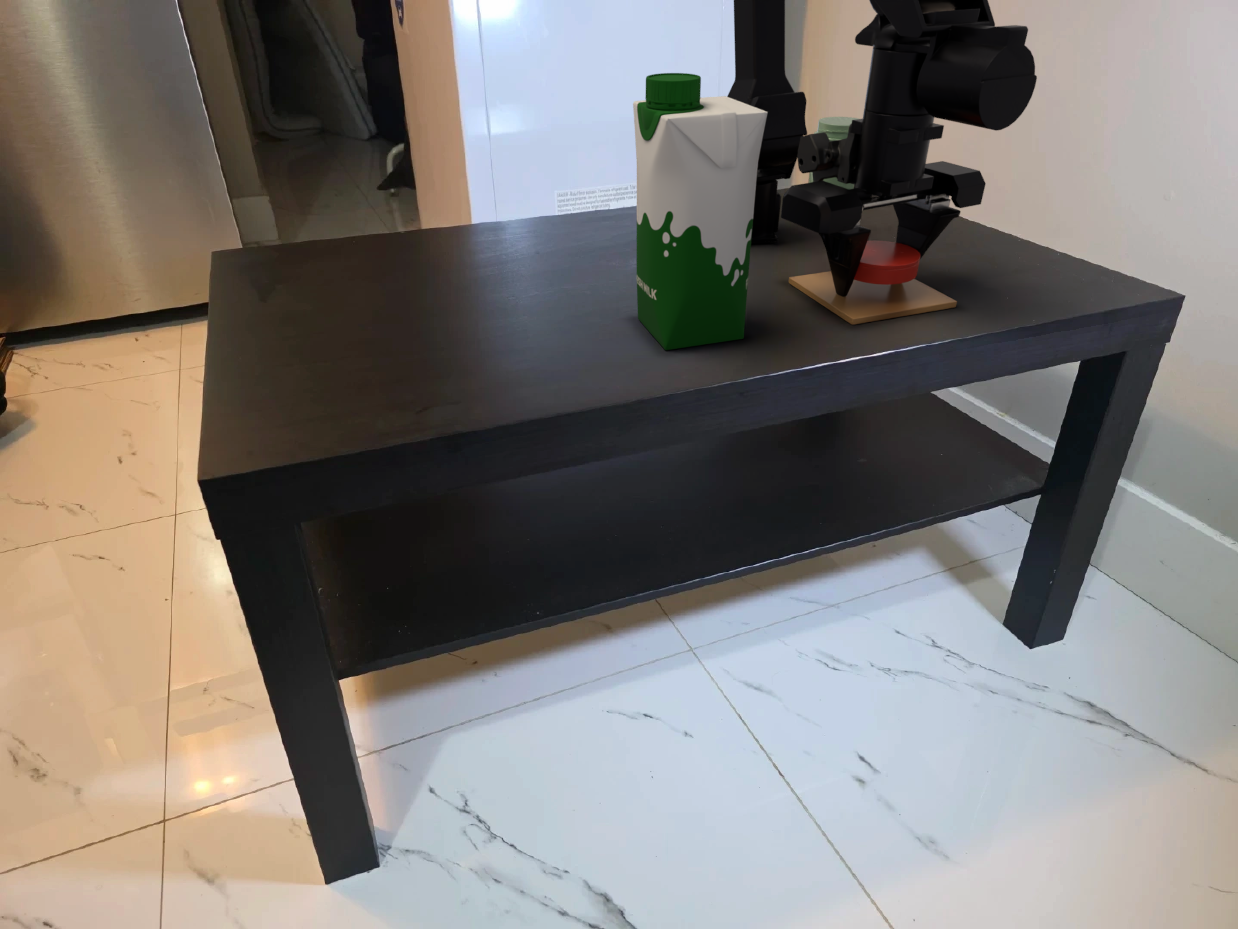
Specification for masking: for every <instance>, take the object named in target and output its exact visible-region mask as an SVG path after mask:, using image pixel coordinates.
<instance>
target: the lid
mask: <svg viewBox="0 0 1238 929" xmlns="http://www.w3.org/2000/svg"><path fill="white" fill-rule="evenodd" d="M920 257H921V255H920V253H919V252H918V251H917V250H916V249H914V248H912V247H910V246H907V245H904V244H900V243H896V241H889V240H868V241H867V244H866V247H865V249H864V252H863V255H862V258H861V261H860V264H859V266H858V269H857V272H856V275H855V278H854V280H857V281H861V282H865V283H871V284H882V285H891V284H901V283H905V282H909V281H911V280H913V279H916V278H917V276H918V273H919V269H920V268H919V267H920V262H921V259H920Z"/></svg>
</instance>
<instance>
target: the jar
mask: <svg viewBox="0 0 1238 929" xmlns="http://www.w3.org/2000/svg"><path fill="white" fill-rule="evenodd" d="M856 119H860V118H858V117H852V116H828V117H822V118H820V119H818V122H817V129H816V131H814V132H813V134H816V133H823V132H825V133H826V134H827V136H828V138H829V140H830V141H836V140H842V139H845V138H847V136H848V130H849V126H850V124H851V123H852V120H856ZM837 180H838V179H837V178H836V177H835V178H828V179H824V180H823V181H825V182H828V183H831V184H834V185H837V186H840V187H843V188H846V189H854V184H851V183H849V184H845V183H842V182H839V181H837ZM811 182H813V174H812V172H810V173H808V181H807V183H811Z"/></svg>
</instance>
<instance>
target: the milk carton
mask: <svg viewBox="0 0 1238 929" xmlns="http://www.w3.org/2000/svg"><path fill="white" fill-rule="evenodd" d="M701 87H702V78H701V76H700V75H698V74H695V73H687V72H686V73H684V72H663V73H654V74H649V75H646V77H645V97H644V98H645V99H644V100H642V99H641V100H635V101H633V103H632V108H633V110H632V111H633V124H634V139H635V141H634V142H635V158H636V159H635V160H636V297H637V300H636V301H637V302H636V303H637V319H638V321H640V323H641V324H642V325H643V326H644V328H645V329H646V330H647V331H648V332H649V333H650V334H651V336H652V337H653V338H654V339H655V340H656V341H657V342H658V344H659V345H660V346H661V347H662V348H663V349H664V350H665V351H669V350H676V349H677V350H678V349H683V348H684V349H685V348H689V347H696V346H697V347H698V346H704V345H709V344H717V343H724V342H731V341H736V340H742V339H744V338H745V326H746V312H747V298H748V287H749V275H750V273H749V272H750V263H751V262H750V260H751V248H752V243H751V238H752V226H753V214H754V202H755V190H756V178H757V167H758V159H759V154H760V148H761V143H762V138H763V133H764V128H765V123H766V118H767V113H768V112H766V111H764V110H761V109H758V108H756V107H753V106H750V105H748V104H745V103H742V102H740V101H737V100H734V99H732V98H729V97H727V95H722V96H707V97H705V96H703V97H701Z"/></svg>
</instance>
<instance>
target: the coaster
mask: <svg viewBox="0 0 1238 929" xmlns="http://www.w3.org/2000/svg"><path fill="white" fill-rule="evenodd" d="M788 284H789V285H790V286H793V287H794V288H795V289H797V290H798V291H800V292H802V293H803V294H805V295H806V296H808V297H809V298H810V299H812V300H814V301H815V302H817V303H818V304H820V305H821V306H823V307H825V308H826V309H827V310H829V311H830V312H832V313H834V314H835V315H836V316H838V317H839V318H841V319H842V320H844V321H845V322H847V323H849V324H850V325H852V326H854V325H859V324H865V323H870V322H878V321H884V320H888V319H894V318H900V317H901V318H902V317H907V316H912V315H918V314H924V313H930V312H936V311H942V310H948V309H953V308H956V307H957V304H958V301H957V300H955V299H953V298H951V297H949V295H948V296H947V295H946V294H944V293H942V292H940V291H938V290H936V289H935V288H933V287H931V286H929V285H927V284H925V283H923V282H921V281H920V280H917V279H916V278H914V279H913V280H911V281H909V282H905V283H901V284H891V285H882V284H871V283H865V282H861V281H857V280H854V281H853V283H852V286H851V288H850V290H849V292H848V294H847V296H845V297H842V296H840V295H838V294H837V293H836V291H835V286H834V282H833V278H832V273H831V270H829V271H822V272H817V273H810V274H809V273H808V274H802V275H795V276H789V277H788Z"/></svg>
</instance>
